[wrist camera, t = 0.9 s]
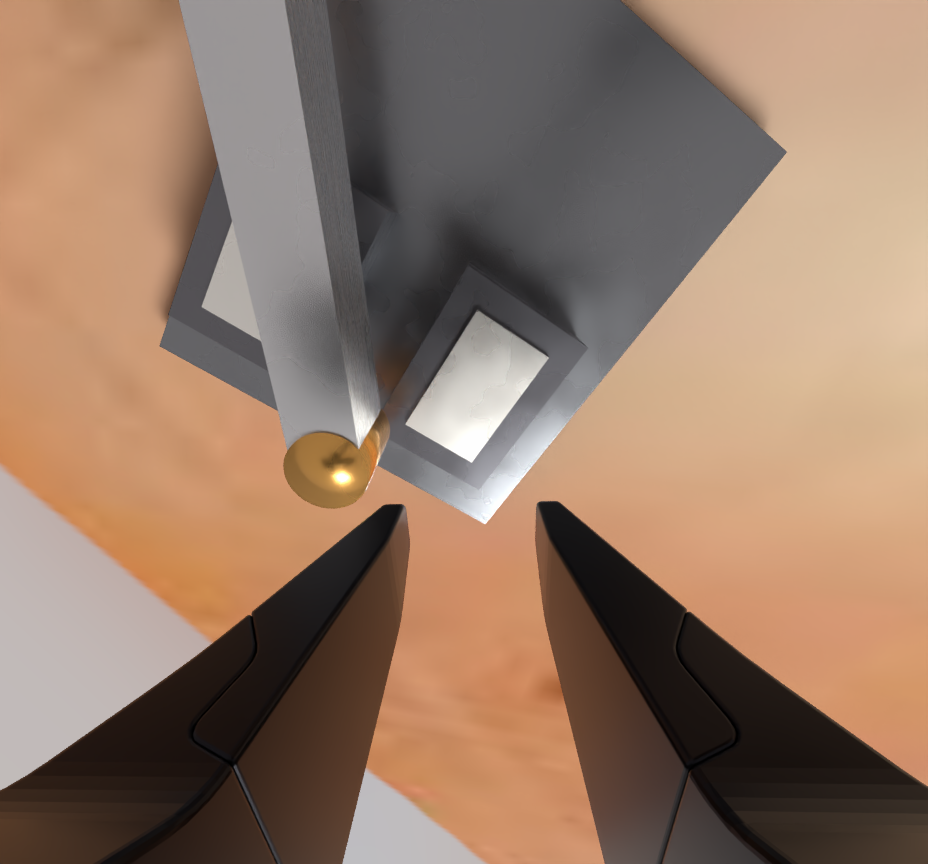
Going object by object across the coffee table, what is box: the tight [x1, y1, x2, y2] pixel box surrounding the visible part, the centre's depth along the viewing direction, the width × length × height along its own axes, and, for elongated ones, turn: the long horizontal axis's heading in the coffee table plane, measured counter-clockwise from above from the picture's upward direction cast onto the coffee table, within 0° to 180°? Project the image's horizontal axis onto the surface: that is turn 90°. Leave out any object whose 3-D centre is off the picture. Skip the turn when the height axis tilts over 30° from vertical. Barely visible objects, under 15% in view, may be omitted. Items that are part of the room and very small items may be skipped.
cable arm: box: [179, 0, 390, 508], centre depth 10 cm, size 18×2×3 cm, turn 3°
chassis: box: [160, 0, 787, 524], centre depth 15 cm, size 18×16×3 cm
